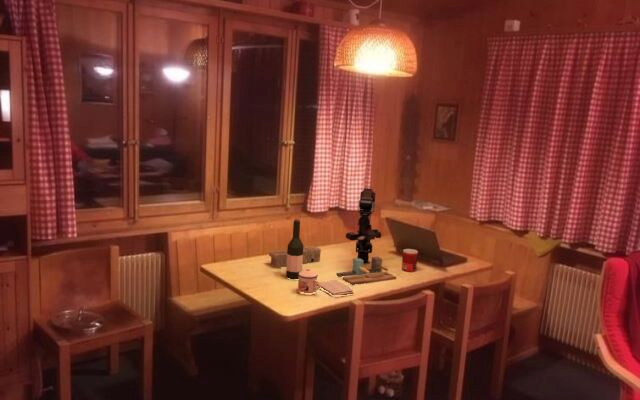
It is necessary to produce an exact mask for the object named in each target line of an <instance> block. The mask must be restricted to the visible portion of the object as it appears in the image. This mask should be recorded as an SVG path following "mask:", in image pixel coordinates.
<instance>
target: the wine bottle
mask: <svg viewBox="0 0 640 400" xmlns="http://www.w3.org/2000/svg"><path fill="white" fill-rule="evenodd" d="M292 226H293V228H292V238H291V240H290V241H289V242H288V244H287V267H286V268H285V270H286V272H285V278H286V277H288V278H290V279H299V275H298V274H299V272H301V271H303V265H304V264H303V247H305V246H304V244H303V242H302V239H301V238H300V235H301V234H300V231H301V221H300V219H299V218H295V219H294V220H293V225H292ZM302 264H303V265H302Z"/></svg>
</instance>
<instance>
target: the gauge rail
mask: <svg viewBox="0 0 640 400" xmlns="http://www.w3.org/2000/svg"><path fill="white" fill-rule="evenodd" d="M365 269H366V268H365ZM366 270H368V271H369V273H366V272H364V271H363V274H362V275H364V274H372V273H380V272H383V271H384V272H388V271H389V268H387V267H385V266H383V258H381V257H379V256H373V257H371V262H370V268H367V269H366ZM382 270H383V271H382ZM335 274H336V275H337V276H338V277H337V276H336V275H335V276H336V277H337V278H343V277H342V276H344V277H349V276H357V275H356V272H355V271H352V270H351V271H350V270H349V271H343V272H336V273H335Z"/></svg>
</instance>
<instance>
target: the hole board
mask: <svg viewBox="0 0 640 400" xmlns="http://www.w3.org/2000/svg"><path fill="white" fill-rule="evenodd" d="M344 280H345V281H344ZM392 280H397V276H395V275H393V274H391V273H390V272H388V271H382V272H375V273H368V274H362V275H352V276H344V277H342V281H344V282H346V283H347V282H348V284H349V283H350V285H351V284H352V285H351V286H356V285H355V284H358V285H363V284H364V283H365V284H371V283H378V282H379V283H380V282H387V281H392Z"/></svg>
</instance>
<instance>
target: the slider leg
mask: <svg viewBox="0 0 640 400" xmlns="http://www.w3.org/2000/svg"><path fill="white" fill-rule="evenodd" d="M363 263H364V260H362V259H360V258H353V259H352V268H351V271H355V272H356V275H355V276H357V275H364V274H363V271H364V272H366V273H368V274H370V273H369V271H368V270H366V268H365V267H364V264H363Z"/></svg>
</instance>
